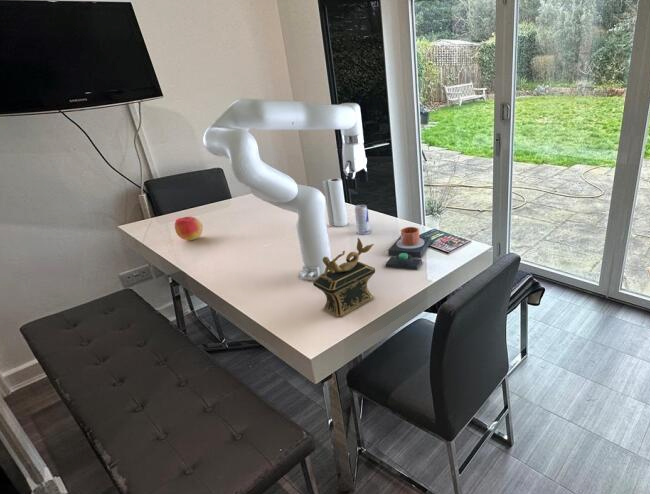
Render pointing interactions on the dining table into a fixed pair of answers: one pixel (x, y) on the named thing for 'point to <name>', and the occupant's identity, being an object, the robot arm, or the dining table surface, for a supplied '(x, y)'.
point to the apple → (188, 228)
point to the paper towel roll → (335, 202)
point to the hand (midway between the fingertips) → (358, 185)
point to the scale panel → (404, 263)
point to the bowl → (410, 235)
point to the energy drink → (362, 219)
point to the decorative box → (345, 282)
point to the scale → (410, 247)
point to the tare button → (403, 256)
